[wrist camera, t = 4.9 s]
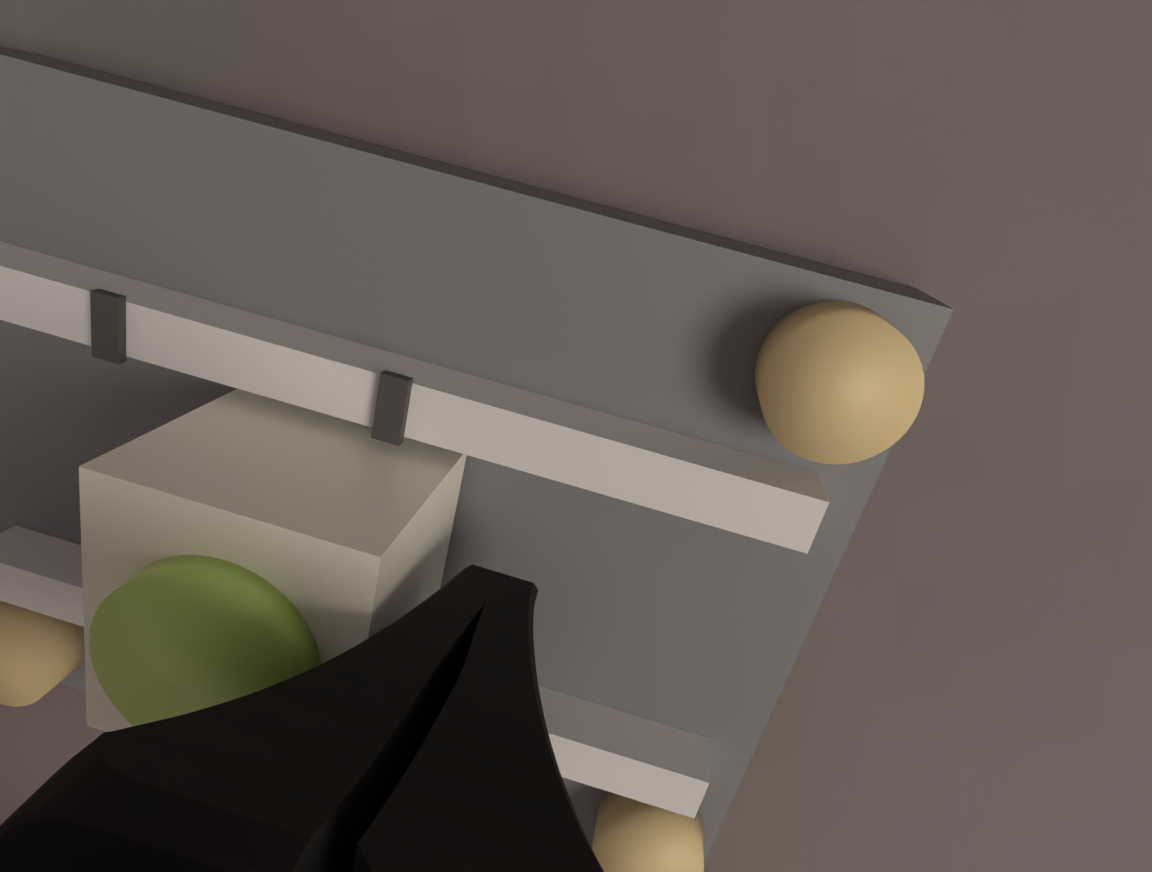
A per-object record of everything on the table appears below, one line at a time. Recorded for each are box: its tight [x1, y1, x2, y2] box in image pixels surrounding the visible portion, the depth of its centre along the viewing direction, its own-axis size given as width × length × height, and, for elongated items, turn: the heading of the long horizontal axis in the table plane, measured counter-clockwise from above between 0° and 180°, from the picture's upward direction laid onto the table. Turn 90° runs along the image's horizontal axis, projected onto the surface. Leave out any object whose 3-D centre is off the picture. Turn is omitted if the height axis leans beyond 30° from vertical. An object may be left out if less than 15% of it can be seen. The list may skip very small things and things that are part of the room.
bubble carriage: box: [79, 389, 467, 732], centre depth 12 cm, size 4×5×5 cm
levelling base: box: [0, 47, 954, 872], centre depth 15 cm, size 18×14×3 cm
